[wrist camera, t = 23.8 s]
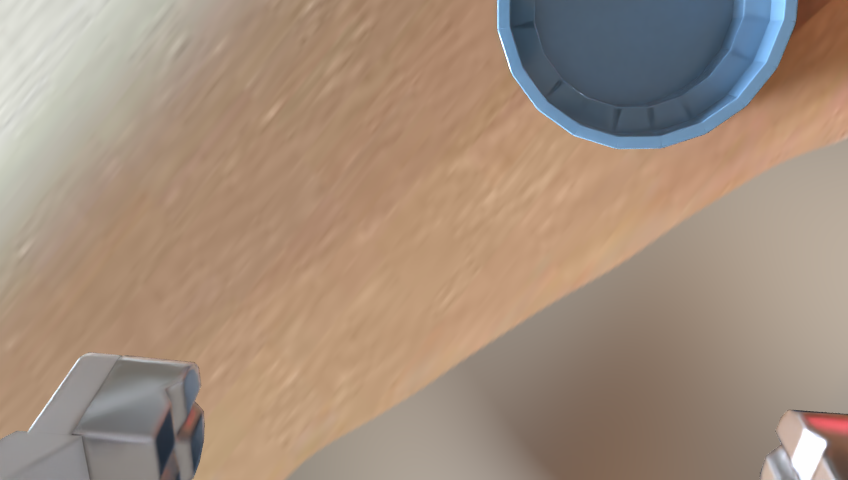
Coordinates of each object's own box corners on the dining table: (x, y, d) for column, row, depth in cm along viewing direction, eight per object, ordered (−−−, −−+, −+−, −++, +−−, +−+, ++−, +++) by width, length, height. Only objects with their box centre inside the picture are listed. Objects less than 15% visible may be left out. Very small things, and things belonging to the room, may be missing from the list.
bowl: (462, -80, 38) (458, -93, 35) (730, -184, 36) (759, -211, 32) (542, 171, 41) (547, 185, 37) (796, 88, 39) (829, 94, 35)
